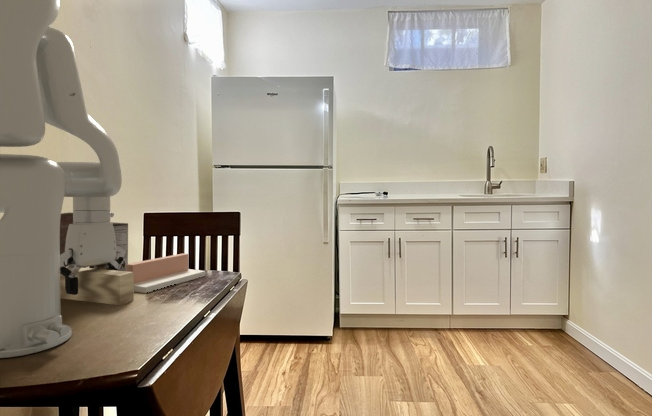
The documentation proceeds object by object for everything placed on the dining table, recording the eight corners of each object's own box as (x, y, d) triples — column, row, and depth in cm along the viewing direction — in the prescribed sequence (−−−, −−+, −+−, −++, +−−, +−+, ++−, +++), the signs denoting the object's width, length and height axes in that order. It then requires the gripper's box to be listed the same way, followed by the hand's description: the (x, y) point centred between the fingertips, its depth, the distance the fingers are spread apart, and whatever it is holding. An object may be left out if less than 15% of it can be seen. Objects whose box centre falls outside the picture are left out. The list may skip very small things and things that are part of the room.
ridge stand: (205, 275, 114) (205, 255, 114) (145, 293, 94) (145, 267, 94) (171, 271, 120) (171, 251, 120) (107, 286, 100) (107, 262, 99)
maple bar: (133, 301, 88) (133, 272, 88) (120, 306, 84) (119, 275, 84) (68, 293, 93) (67, 266, 93) (52, 298, 89) (52, 269, 89)
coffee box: (88, 275, 112) (87, 222, 112) (106, 271, 118) (106, 221, 118) (111, 278, 110) (111, 223, 109) (129, 273, 116) (128, 222, 115)
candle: (60, 289, 96) (59, 212, 95) (47, 285, 100) (46, 211, 99) (91, 283, 103) (90, 211, 102) (78, 280, 106) (77, 210, 106)
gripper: (114, 215, 97) (114, 279, 98) (42, 219, 81) (43, 296, 82) (134, 216, 94) (135, 282, 95) (64, 220, 79) (65, 300, 79)
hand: (92, 288), depth 89 cm, fingers open, 9 cm apart
